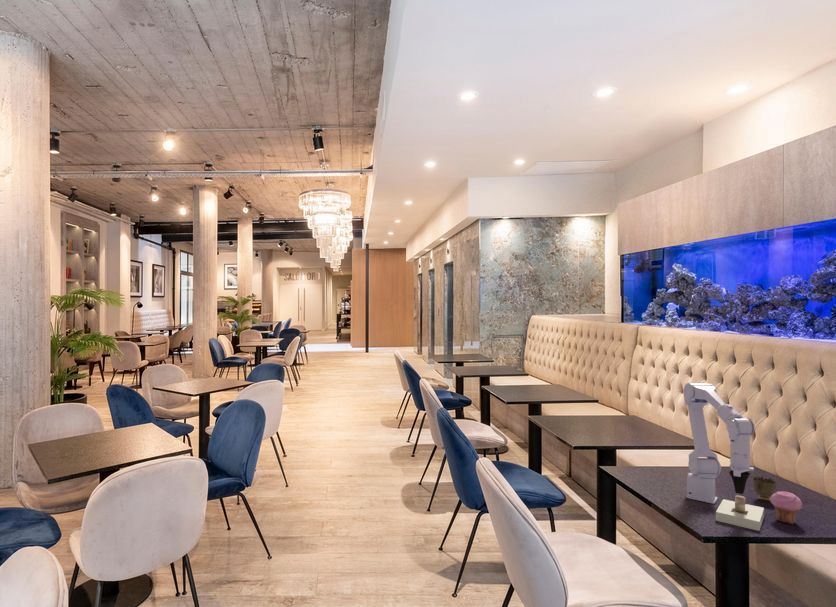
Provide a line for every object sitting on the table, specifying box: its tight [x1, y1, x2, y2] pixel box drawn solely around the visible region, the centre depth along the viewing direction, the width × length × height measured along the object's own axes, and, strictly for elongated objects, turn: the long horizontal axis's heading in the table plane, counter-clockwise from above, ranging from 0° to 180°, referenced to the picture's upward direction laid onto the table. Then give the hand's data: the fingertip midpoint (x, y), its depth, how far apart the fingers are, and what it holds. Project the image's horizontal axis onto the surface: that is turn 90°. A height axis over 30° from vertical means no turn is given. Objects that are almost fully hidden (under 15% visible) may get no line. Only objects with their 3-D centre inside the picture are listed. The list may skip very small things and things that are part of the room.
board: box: [715, 498, 765, 531], centre depth 176 cm, size 12×16×3 cm
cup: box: [752, 475, 777, 502], centre depth 195 cm, size 8×7×8 cm
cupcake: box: [770, 491, 803, 525], centre depth 175 cm, size 9×9×10 cm
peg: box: [734, 495, 746, 515], centre depth 174 cm, size 3×3×8 cm
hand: (739, 492), depth 175 cm, fingers closed
